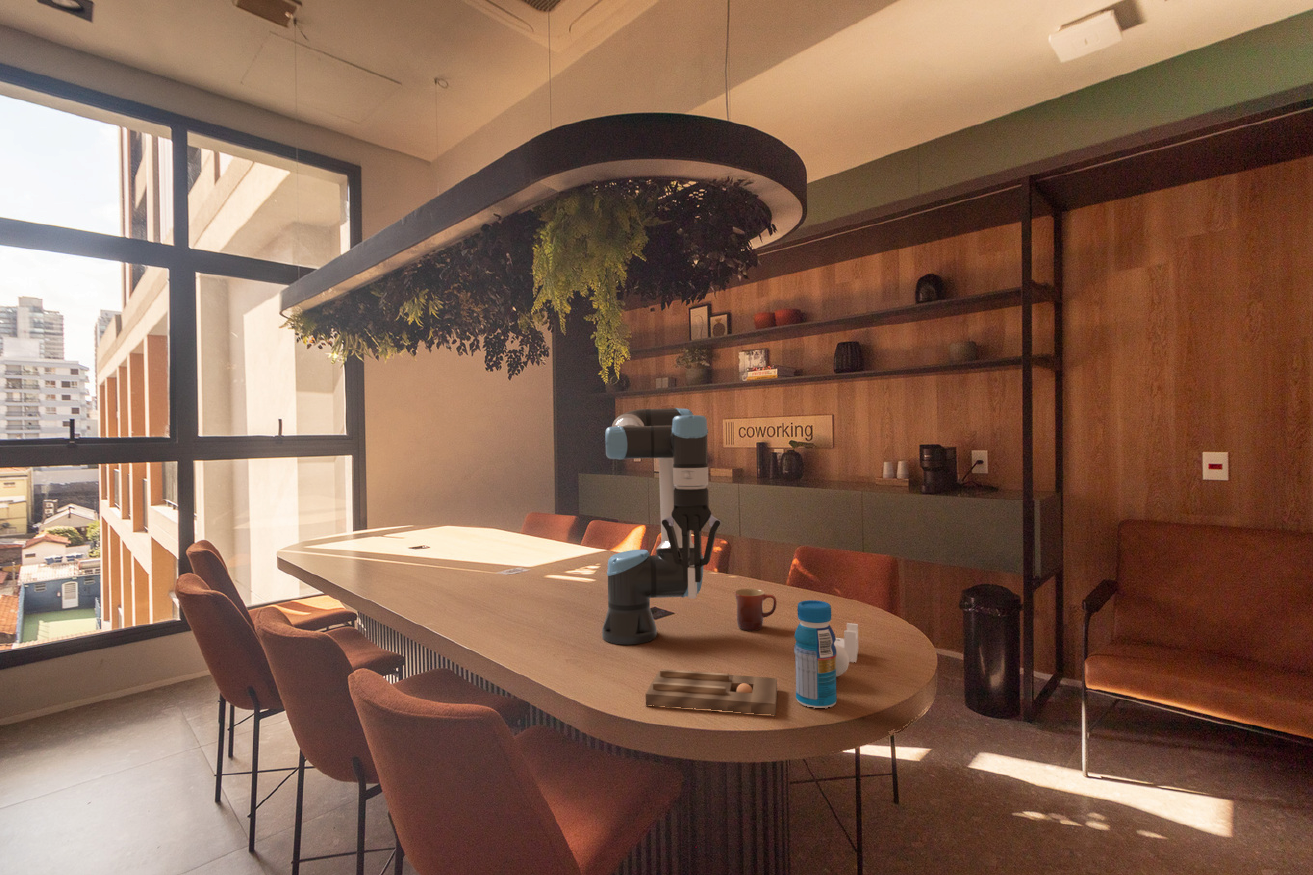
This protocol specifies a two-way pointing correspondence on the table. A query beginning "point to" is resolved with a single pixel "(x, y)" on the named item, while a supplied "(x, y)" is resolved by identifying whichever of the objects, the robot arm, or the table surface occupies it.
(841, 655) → the white knot
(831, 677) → the beverage bottle
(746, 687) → the ball
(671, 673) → the lane board
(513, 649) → the table surface
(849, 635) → the bracket
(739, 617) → the mug
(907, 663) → the table surface
